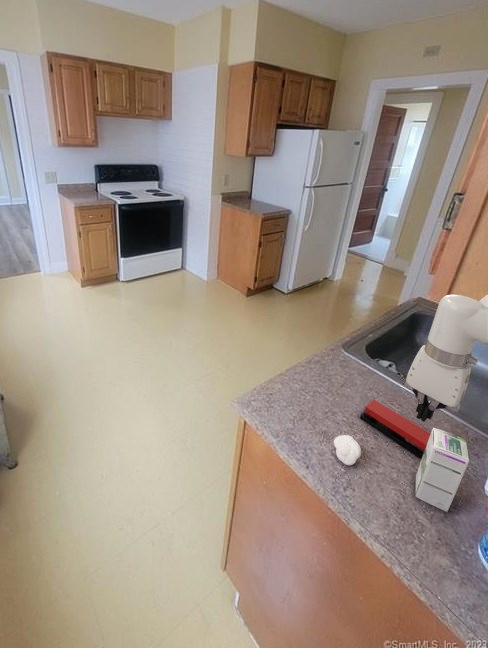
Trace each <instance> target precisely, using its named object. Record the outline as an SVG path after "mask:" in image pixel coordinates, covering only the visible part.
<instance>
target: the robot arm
mask: <svg viewBox="0 0 488 648" xmlns="http://www.w3.org/2000/svg"><path fill="white" fill-rule="evenodd" d="M476 341H477V342H479V343H480V342H481V343H483V344H485V345H488V294H486V295H485V296H483V297H482V298H481V299H479V300H477V299H475V298H472V297H470V296H466V295H462V294H461V295H460V294H447V295H444V296H443V297H442V298H441V299H440V300H439V302H438V306H437V308H436V311H435V315H434V318H433V321H432V324H431V327H430V330H429V333H428V336H427V338H426V342H425V344H424V345H422V346H421V347H420V349H419V350H418V352H417V353H416V354H415V357H414V359H413V361H412V362H411V365H410V368H409V370H408V372H407V374H406V378H405V381H404V382H403V385H404V386H405V387H407V388H408V389H409V390H410V391H412V393H413V394H414V396H415V397H416V402H417V406H416V409H415V412H416V413H417V415H416V419H417V420H420V421H421V422H423V423H425V422H426V421H427V420H431V419H432V418H433V416H434V413H435V411H436V410H442V409H446V410H448V411H451V412H454V413H458V412H459V410H460V409H461V401H462V400H463V399H464V396H465V394H466V391H467V389H468V388H467V387H468V384H469V381H470V378H471V377H470V376H471V371H472V365H474V366H476V365H477V364H478V362H479V359H478V358H476V357H475V356H473V354H472V353H473V348H474V346H475V344H476ZM429 398H431V399H432V400H431V401H429Z"/></svg>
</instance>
